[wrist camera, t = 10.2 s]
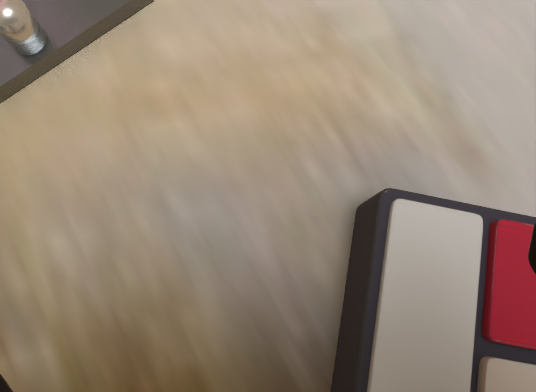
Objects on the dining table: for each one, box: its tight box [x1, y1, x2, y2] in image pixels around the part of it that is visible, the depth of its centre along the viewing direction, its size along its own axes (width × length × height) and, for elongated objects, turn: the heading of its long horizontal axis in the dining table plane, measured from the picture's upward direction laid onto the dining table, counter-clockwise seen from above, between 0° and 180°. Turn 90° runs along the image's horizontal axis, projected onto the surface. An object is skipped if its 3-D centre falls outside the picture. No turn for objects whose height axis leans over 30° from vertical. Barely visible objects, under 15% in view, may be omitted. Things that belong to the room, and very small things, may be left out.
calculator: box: [331, 188, 536, 392], centre depth 20 cm, size 11×4×15 cm
